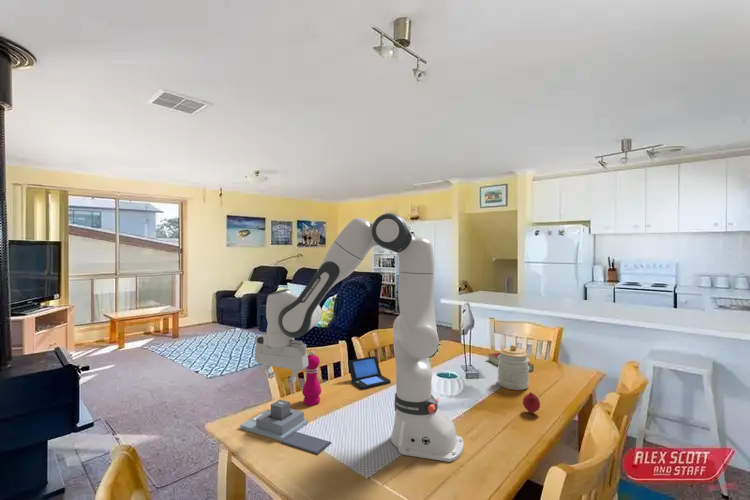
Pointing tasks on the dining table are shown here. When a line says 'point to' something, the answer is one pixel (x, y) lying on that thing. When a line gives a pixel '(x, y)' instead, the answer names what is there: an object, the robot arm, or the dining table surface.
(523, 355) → the jar
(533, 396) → the onion
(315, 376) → the pepper mill
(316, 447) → the plate
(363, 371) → the handheld game console
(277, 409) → the dark grey block
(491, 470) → the dining table surface
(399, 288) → the robot arm
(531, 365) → the hardcover book
